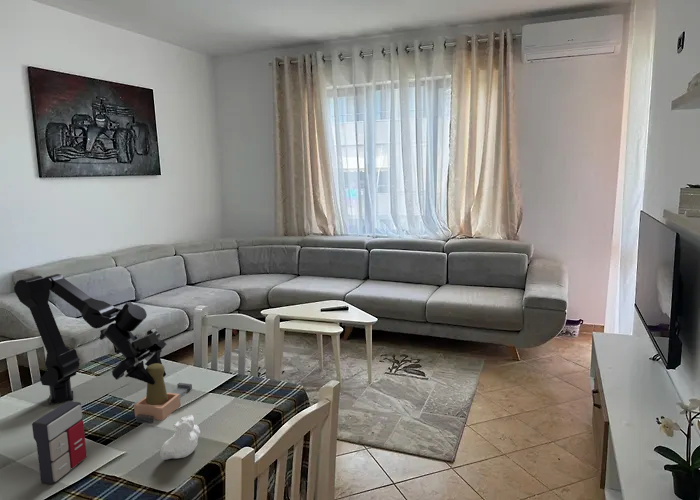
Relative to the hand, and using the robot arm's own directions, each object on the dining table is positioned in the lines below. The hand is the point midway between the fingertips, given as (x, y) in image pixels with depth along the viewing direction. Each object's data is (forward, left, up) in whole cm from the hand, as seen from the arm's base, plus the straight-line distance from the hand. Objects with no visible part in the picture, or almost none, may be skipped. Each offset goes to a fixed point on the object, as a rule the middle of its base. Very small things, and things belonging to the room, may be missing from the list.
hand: (159, 379), depth 143 cm
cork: (-1, -1, -7) cm, 7 cm away
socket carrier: (-1, -1, -10) cm, 10 cm away
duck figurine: (+25, +1, -10) cm, 27 cm away
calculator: (+18, -25, -10) cm, 32 cm away
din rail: (-4, +2, -10) cm, 11 cm away
